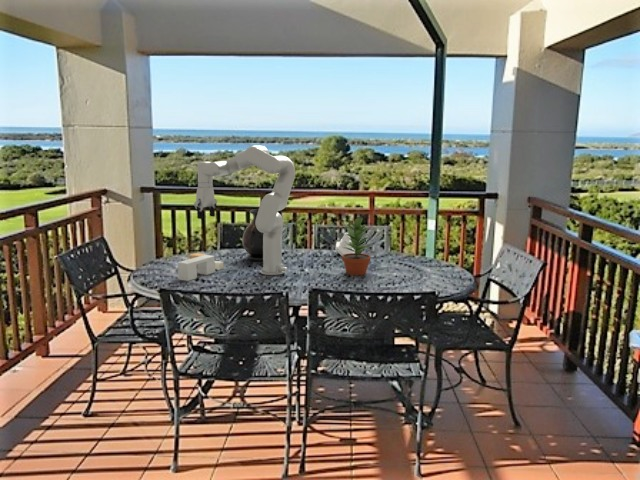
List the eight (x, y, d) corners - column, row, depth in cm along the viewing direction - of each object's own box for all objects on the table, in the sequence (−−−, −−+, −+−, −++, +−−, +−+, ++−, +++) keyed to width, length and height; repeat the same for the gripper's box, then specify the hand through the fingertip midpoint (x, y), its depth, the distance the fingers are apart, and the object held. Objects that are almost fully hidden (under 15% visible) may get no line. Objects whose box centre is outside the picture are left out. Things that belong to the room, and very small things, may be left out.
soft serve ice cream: (354, 254, 332) (360, 232, 327) (352, 261, 317) (358, 239, 313) (334, 248, 332) (341, 226, 328) (331, 255, 318) (338, 233, 314)
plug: (224, 268, 286) (224, 257, 285) (218, 270, 282) (217, 259, 281) (196, 263, 296) (196, 252, 294) (189, 265, 291) (189, 254, 290)
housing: (214, 272, 277) (214, 256, 276) (188, 280, 260) (187, 263, 259) (205, 270, 280) (205, 254, 279) (178, 279, 263) (178, 262, 261)
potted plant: (362, 268, 289) (363, 212, 284) (374, 275, 276) (376, 217, 270) (336, 270, 284) (337, 214, 278) (348, 277, 270) (349, 218, 264)
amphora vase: (275, 263, 297) (275, 213, 292) (237, 262, 300) (236, 212, 295) (283, 255, 318) (283, 208, 312) (248, 253, 321) (248, 207, 316)
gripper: (210, 183, 292) (211, 215, 295) (188, 186, 277) (189, 219, 280) (221, 184, 289) (222, 216, 292) (199, 186, 274) (200, 220, 277)
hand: (206, 217), depth 286 cm, fingers open, 9 cm apart
